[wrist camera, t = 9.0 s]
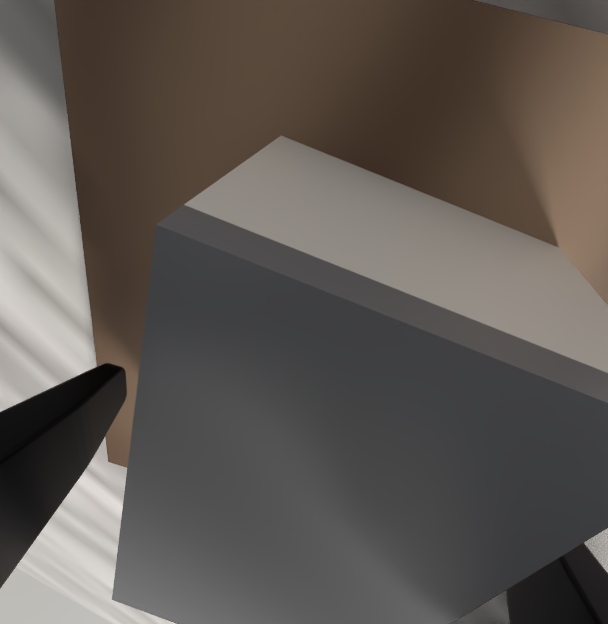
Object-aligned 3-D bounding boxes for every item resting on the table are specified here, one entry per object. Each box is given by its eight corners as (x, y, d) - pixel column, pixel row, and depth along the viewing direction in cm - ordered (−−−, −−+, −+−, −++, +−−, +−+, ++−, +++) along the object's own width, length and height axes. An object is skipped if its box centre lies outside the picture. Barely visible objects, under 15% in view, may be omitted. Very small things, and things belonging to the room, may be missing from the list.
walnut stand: (778, 96, 8) (910, 111, 6) (449, 508, 17) (457, 570, 15) (126, -70, 9) (41, -110, 7) (141, 414, 18) (108, 461, 16)
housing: (361, 496, 14) (347, 687, 10) (198, 433, 14) (112, 599, 9) (558, 247, 8) (730, 451, 4) (281, 135, 8) (156, 224, 4)
